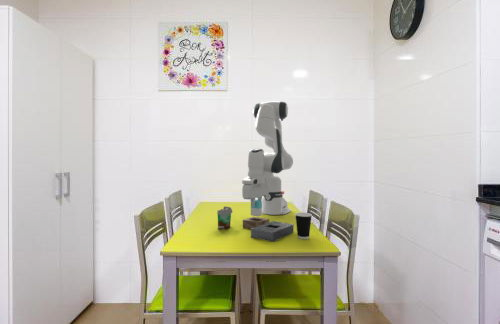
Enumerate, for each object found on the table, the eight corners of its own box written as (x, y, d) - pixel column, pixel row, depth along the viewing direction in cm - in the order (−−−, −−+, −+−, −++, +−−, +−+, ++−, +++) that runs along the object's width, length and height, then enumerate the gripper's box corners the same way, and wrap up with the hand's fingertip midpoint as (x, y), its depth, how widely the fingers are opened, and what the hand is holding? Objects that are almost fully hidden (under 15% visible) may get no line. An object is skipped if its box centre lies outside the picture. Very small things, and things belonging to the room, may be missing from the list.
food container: (228, 230, 156) (228, 211, 155) (217, 230, 157) (217, 210, 157) (234, 225, 168) (235, 206, 167) (224, 224, 169) (224, 206, 169)
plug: (253, 214, 167) (253, 199, 166) (261, 215, 164) (261, 200, 164) (250, 215, 164) (250, 200, 164) (258, 216, 161) (258, 201, 161)
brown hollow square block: (253, 223, 171) (253, 216, 171) (268, 226, 165) (268, 219, 165) (242, 227, 163) (242, 219, 162) (258, 230, 157) (258, 222, 157)
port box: (272, 228, 160) (272, 220, 160) (293, 232, 154) (293, 223, 154) (250, 237, 144) (250, 227, 144) (273, 241, 137) (273, 231, 137)
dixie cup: (292, 235, 147) (292, 212, 147) (307, 234, 149) (307, 212, 149) (298, 240, 139) (299, 216, 139) (314, 239, 141) (315, 215, 141)
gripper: (261, 177, 173) (261, 202, 174) (240, 180, 157) (240, 207, 157) (271, 178, 170) (271, 203, 171) (250, 181, 153) (250, 209, 154)
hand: (256, 205), depth 164 cm, fingers closed on plug, 3 cm apart
